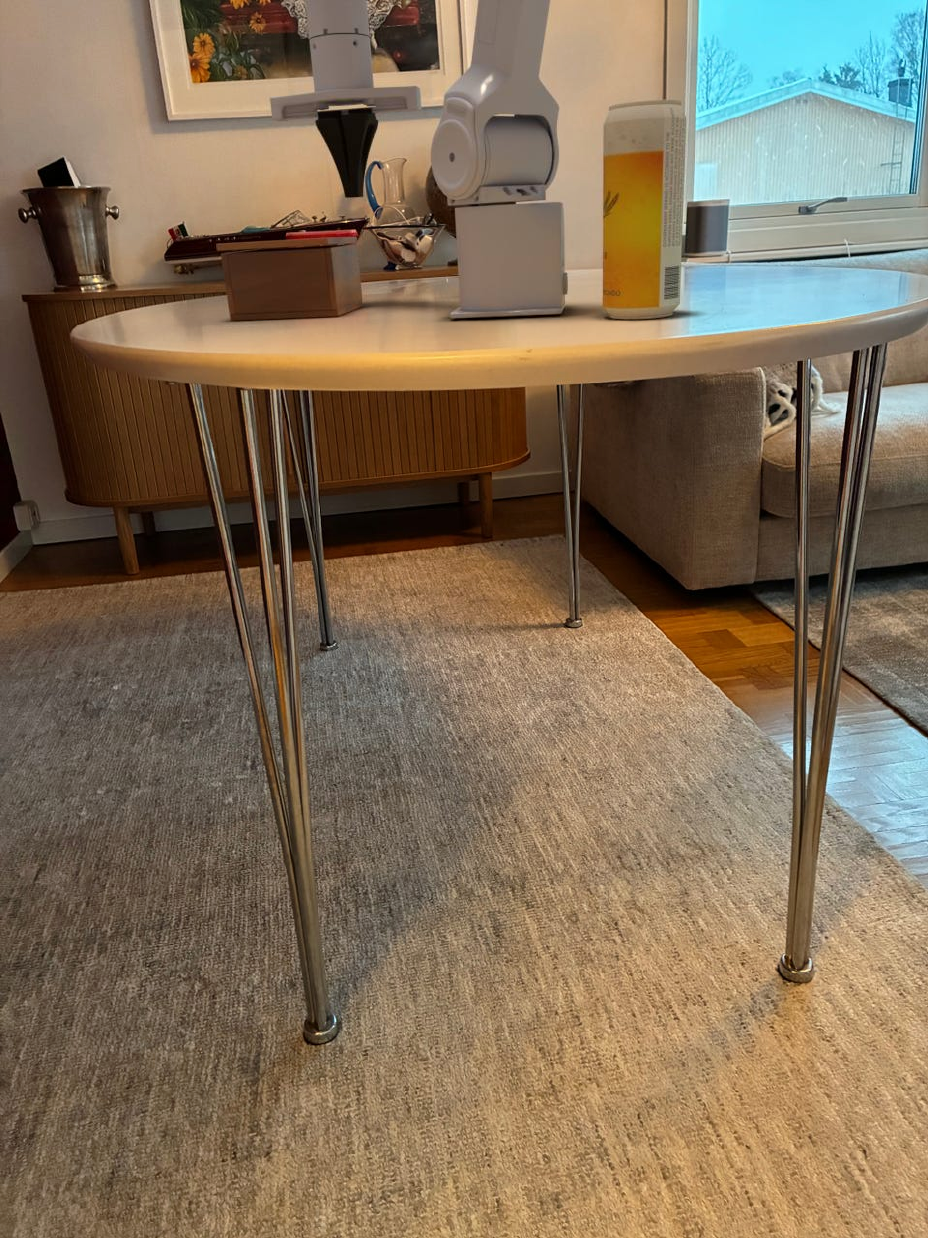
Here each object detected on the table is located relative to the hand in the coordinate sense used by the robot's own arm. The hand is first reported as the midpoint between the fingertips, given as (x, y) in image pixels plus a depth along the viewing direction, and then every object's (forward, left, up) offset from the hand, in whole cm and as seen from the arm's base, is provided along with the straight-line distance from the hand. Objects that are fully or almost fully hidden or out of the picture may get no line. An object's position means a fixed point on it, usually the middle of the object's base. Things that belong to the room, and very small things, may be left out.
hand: (354, 197), depth 93 cm
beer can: (-28, +20, -11) cm, 36 cm away
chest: (+6, +5, -10) cm, 13 cm away
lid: (+5, +5, -4) cm, 9 cm away
